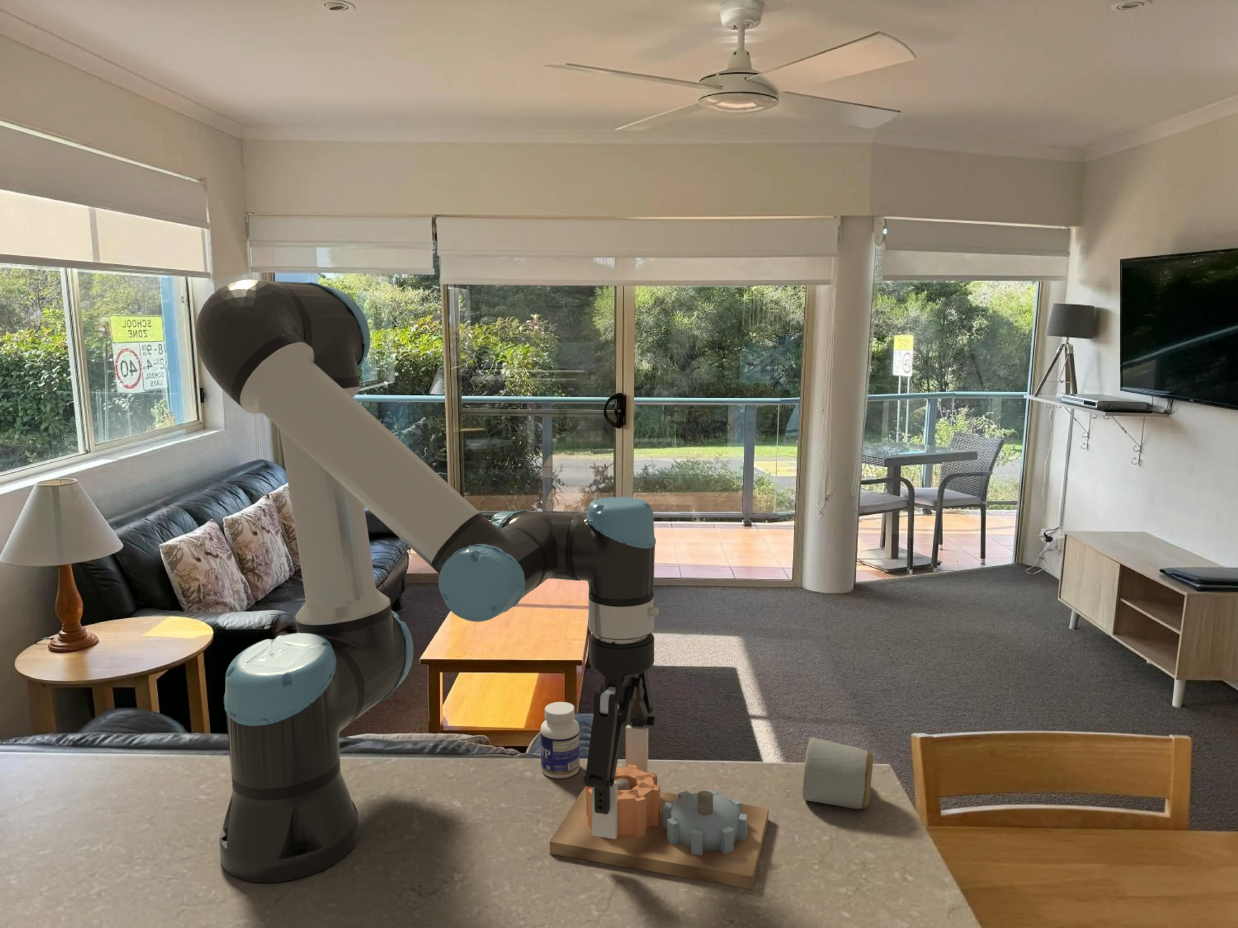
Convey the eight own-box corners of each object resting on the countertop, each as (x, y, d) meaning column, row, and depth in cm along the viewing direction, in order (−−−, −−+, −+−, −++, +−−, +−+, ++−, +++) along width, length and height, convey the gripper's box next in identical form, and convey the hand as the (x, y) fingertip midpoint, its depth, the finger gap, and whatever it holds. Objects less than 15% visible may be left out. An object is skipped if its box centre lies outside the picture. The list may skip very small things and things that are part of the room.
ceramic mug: (869, 822, 107) (872, 762, 106) (800, 810, 109) (802, 752, 108) (872, 781, 117) (875, 726, 116) (809, 771, 119) (811, 717, 118)
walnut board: (549, 853, 101) (549, 804, 100) (588, 791, 114) (588, 748, 113) (752, 889, 94) (753, 837, 93) (768, 819, 107) (769, 773, 107)
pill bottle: (537, 763, 121) (536, 702, 120) (574, 757, 123) (573, 697, 122) (545, 782, 116) (544, 718, 115) (584, 775, 118) (583, 713, 117)
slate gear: (654, 847, 99) (654, 826, 99) (673, 803, 108) (673, 784, 108) (739, 861, 97) (740, 840, 96) (752, 815, 106) (752, 795, 105)
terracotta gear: (575, 831, 102) (575, 795, 102) (599, 793, 111) (598, 759, 110) (649, 844, 100) (649, 807, 99) (667, 804, 108) (667, 769, 107)
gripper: (622, 677, 89) (623, 870, 92) (677, 602, 112) (676, 759, 116) (552, 669, 91) (555, 858, 94) (620, 597, 114) (620, 751, 118)
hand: (621, 804), depth 105 cm, fingers open, 13 cm apart
